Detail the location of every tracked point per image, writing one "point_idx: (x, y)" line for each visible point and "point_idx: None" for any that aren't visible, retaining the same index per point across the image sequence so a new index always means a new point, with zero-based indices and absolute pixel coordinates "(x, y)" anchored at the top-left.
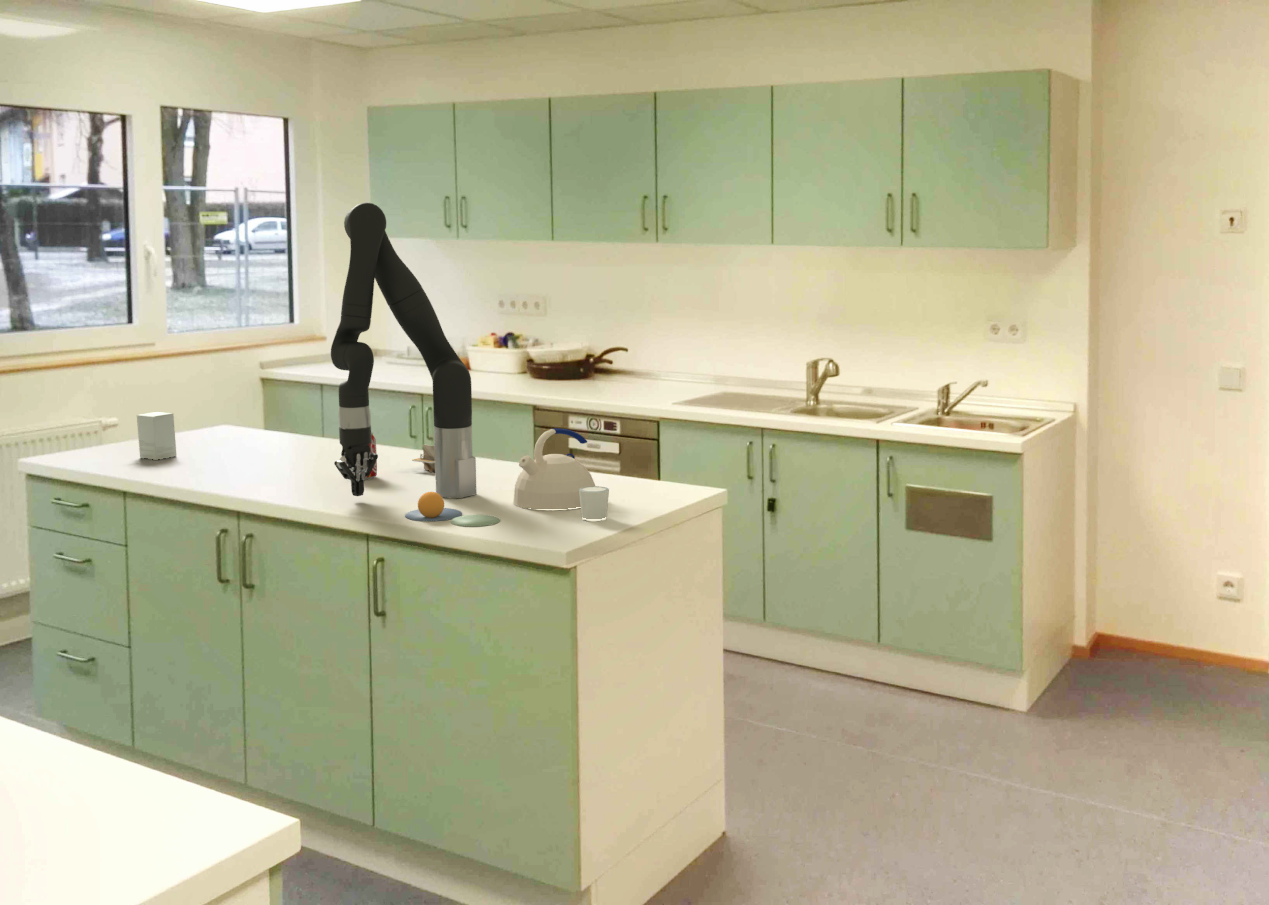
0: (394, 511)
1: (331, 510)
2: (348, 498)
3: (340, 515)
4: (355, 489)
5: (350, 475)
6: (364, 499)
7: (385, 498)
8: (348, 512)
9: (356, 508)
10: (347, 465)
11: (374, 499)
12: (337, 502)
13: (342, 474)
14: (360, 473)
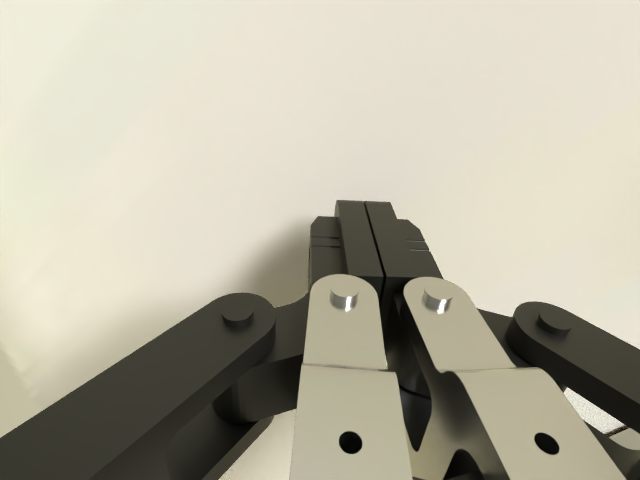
0: (258, 456)
1: (35, 229)
2: (422, 52)
3: (11, 345)
4: (308, 283)
5: (192, 440)
6: (433, 196)
7: (504, 287)
8: (90, 336)
9: (191, 313)
10: (293, 471)
11: (456, 252)
12: (245, 79)
13: (137, 367)
14: (403, 418)
